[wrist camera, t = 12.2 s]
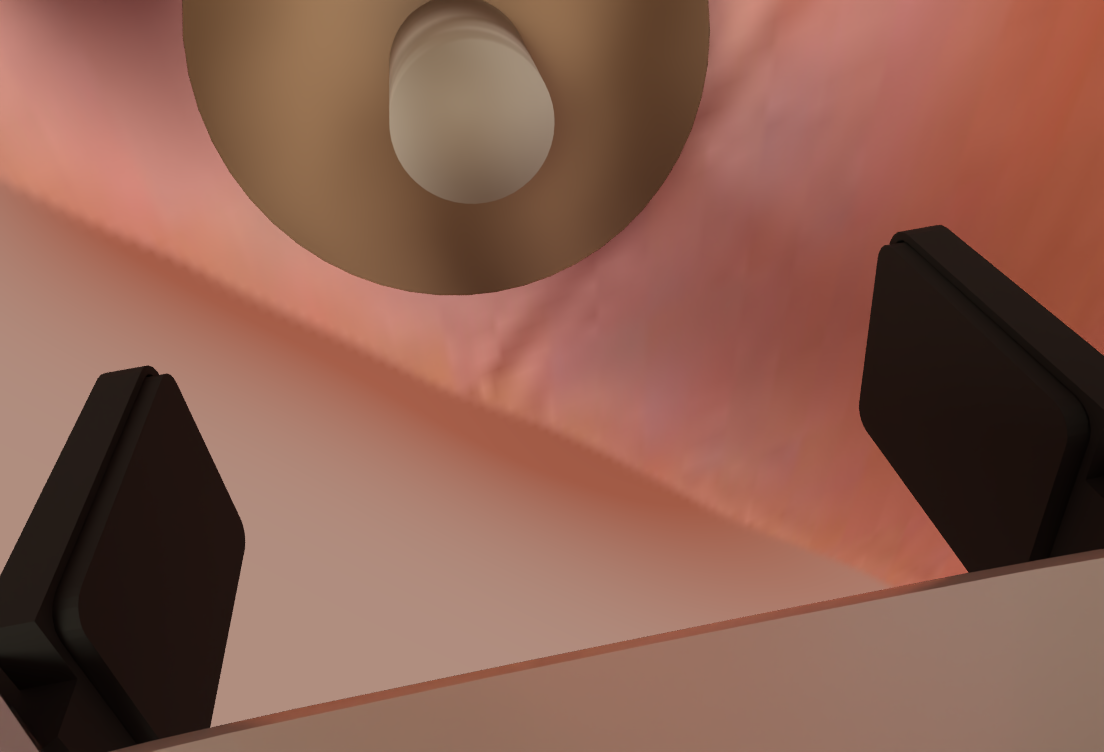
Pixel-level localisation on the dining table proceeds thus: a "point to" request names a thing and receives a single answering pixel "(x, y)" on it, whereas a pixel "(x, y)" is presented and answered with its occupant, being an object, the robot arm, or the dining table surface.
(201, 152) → the dining table surface
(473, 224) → the lid
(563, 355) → the dining table surface
